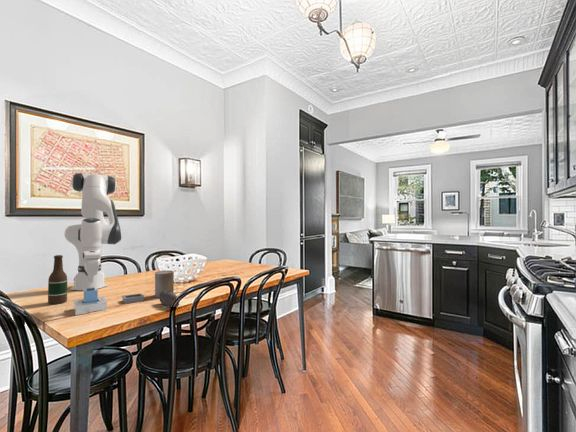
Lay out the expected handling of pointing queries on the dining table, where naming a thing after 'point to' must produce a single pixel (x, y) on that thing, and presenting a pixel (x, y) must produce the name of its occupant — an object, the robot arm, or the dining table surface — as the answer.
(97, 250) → the robot arm
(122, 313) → the dining table surface
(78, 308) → the block
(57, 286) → the beer bottle
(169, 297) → the perforated stone tool
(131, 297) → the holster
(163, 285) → the pillar candle
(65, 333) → the dining table surface
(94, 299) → the plug
